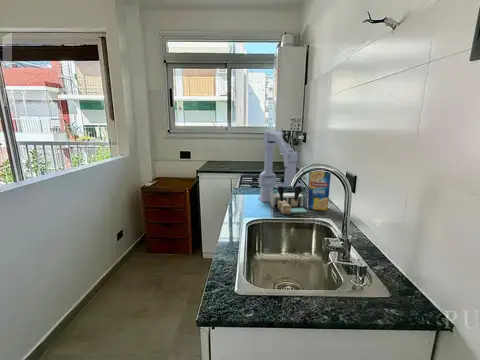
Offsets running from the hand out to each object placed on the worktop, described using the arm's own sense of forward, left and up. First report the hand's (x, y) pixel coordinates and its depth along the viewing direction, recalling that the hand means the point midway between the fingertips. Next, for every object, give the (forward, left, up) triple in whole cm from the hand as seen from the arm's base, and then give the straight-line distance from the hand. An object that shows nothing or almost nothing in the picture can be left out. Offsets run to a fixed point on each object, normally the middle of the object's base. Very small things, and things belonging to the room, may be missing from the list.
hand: (288, 200), depth 141 cm
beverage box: (-11, +21, -8) cm, 25 cm away
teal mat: (-6, +8, -8) cm, 12 cm away
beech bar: (-7, 0, -8) cm, 11 cm away
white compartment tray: (-17, +5, -8) cm, 20 cm away
